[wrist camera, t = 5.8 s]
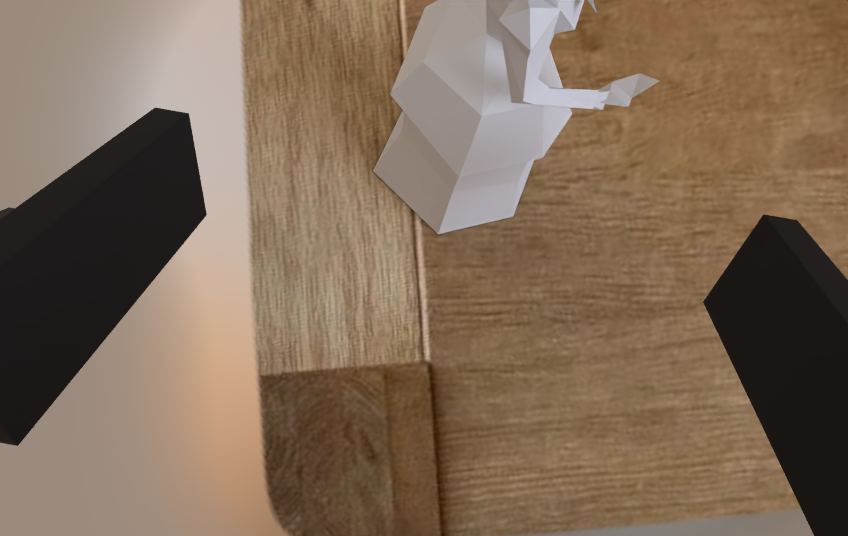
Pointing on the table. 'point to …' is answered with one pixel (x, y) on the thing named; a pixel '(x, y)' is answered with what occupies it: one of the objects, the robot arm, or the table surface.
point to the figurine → (482, 107)
